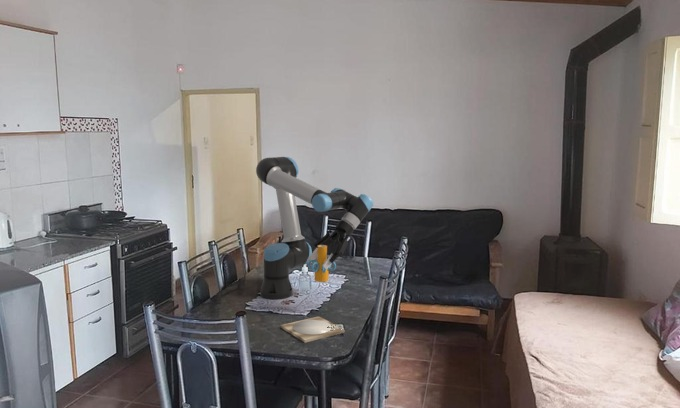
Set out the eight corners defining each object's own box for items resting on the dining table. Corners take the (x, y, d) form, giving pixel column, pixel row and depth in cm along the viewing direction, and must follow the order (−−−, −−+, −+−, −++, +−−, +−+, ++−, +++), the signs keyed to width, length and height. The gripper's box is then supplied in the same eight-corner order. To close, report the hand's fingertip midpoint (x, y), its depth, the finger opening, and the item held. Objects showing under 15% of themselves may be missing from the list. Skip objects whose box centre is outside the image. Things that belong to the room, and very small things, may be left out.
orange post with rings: (322, 274, 234) (323, 241, 232) (340, 279, 227) (341, 245, 225) (302, 280, 225) (303, 246, 222) (320, 286, 218) (321, 250, 216)
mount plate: (280, 327, 208) (280, 324, 208) (319, 318, 218) (319, 315, 218) (304, 342, 194) (304, 339, 193) (344, 332, 204) (344, 329, 204)
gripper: (368, 235, 222) (337, 276, 216) (336, 225, 241) (307, 263, 234) (359, 223, 218) (327, 265, 212) (327, 215, 237) (297, 253, 230)
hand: (316, 264), depth 223 cm, fingers closed on orange post with rings, 11 cm apart
